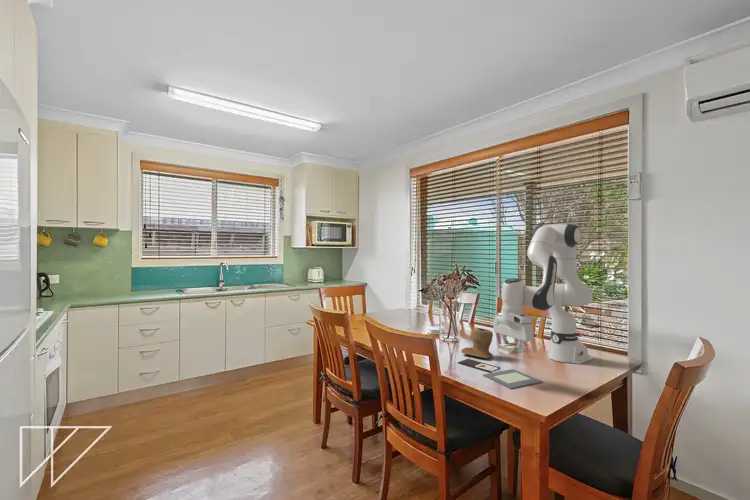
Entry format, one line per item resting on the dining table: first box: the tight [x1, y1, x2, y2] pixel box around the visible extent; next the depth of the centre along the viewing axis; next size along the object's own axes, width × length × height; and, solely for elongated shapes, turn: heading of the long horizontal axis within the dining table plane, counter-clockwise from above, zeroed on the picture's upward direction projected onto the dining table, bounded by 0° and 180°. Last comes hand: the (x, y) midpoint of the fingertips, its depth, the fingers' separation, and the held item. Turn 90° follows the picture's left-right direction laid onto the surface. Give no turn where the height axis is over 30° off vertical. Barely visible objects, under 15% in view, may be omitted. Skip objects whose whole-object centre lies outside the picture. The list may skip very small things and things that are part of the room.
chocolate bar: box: [456, 358, 501, 373], centre depth 177 cm, size 9×1×18 cm
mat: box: [482, 368, 544, 390], centre depth 160 cm, size 18×17×1 cm
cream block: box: [498, 341, 527, 356], centre depth 159 cm, size 10×6×3 cm, turn 114°
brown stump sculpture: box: [461, 327, 494, 359], centre depth 193 cm, size 15×12×15 cm
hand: (512, 347), depth 159 cm, fingers closed on cream block, 6 cm apart
